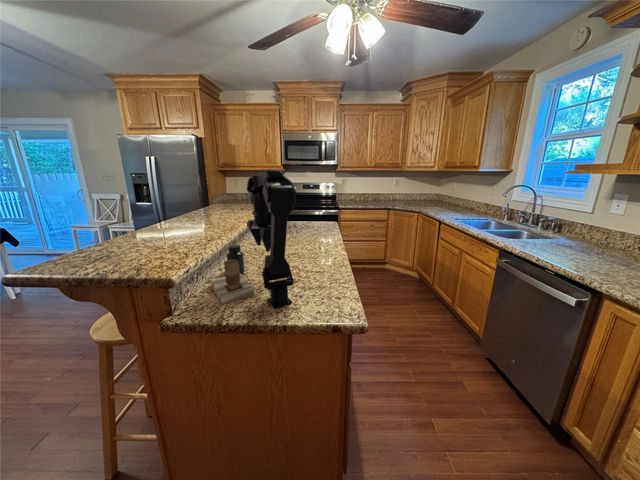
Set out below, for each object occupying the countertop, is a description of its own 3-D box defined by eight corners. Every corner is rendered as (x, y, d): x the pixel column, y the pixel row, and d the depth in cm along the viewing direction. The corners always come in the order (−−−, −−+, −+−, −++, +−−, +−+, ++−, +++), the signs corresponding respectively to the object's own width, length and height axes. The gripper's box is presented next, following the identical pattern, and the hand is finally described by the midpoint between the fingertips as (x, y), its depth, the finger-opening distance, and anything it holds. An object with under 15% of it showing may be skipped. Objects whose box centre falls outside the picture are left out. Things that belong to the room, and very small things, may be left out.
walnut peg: (243, 294, 89) (240, 262, 86) (229, 297, 86) (226, 265, 83) (239, 288, 93) (236, 258, 89) (225, 292, 90) (222, 261, 87)
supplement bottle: (247, 273, 107) (246, 246, 104) (233, 277, 102) (230, 250, 99) (239, 268, 111) (237, 242, 108) (225, 272, 107) (222, 246, 103)
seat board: (254, 295, 88) (253, 288, 87) (222, 304, 82) (221, 297, 82) (240, 279, 101) (239, 273, 100) (211, 285, 95) (210, 279, 94)
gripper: (292, 210, 91) (292, 251, 95) (271, 204, 105) (272, 239, 110) (263, 213, 85) (265, 256, 89) (245, 206, 99) (247, 243, 104)
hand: (263, 248), depth 98 cm, fingers open, 9 cm apart
